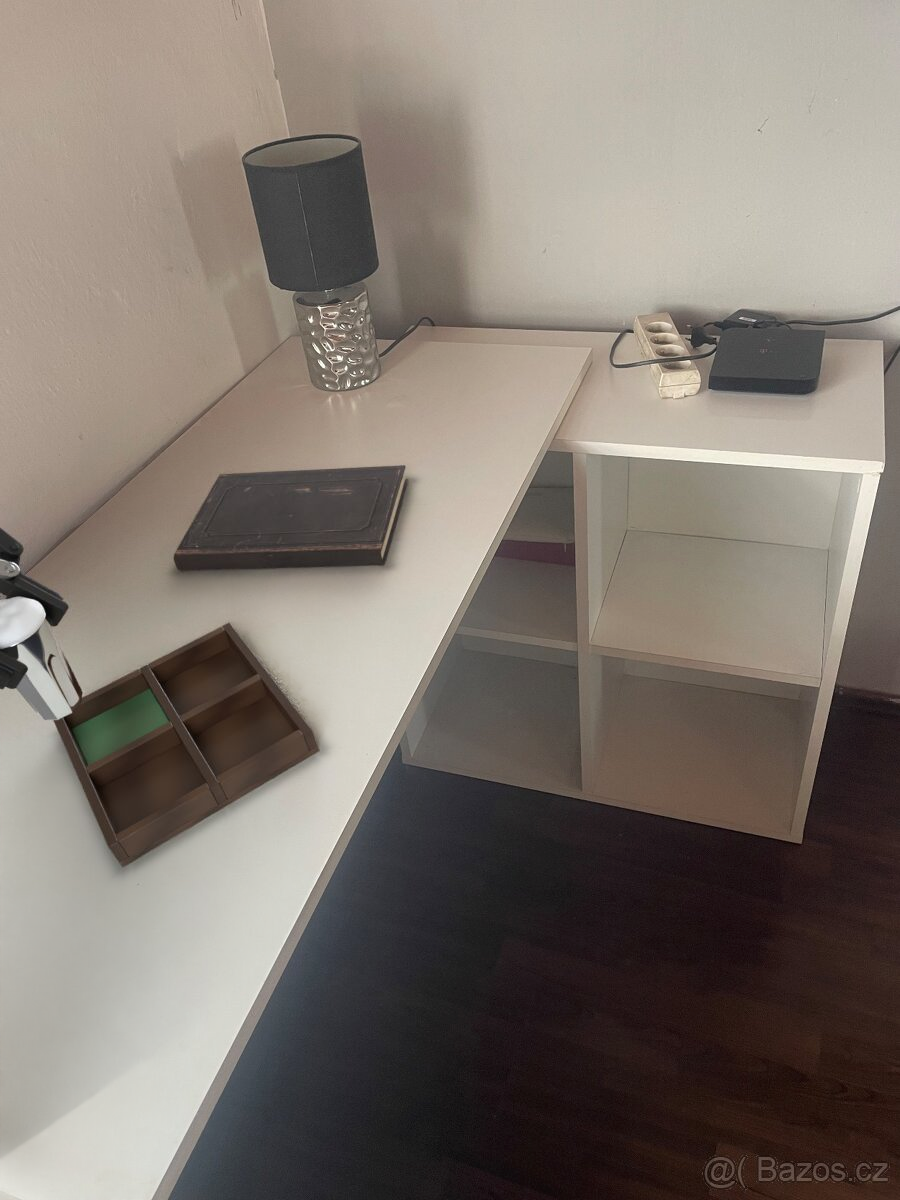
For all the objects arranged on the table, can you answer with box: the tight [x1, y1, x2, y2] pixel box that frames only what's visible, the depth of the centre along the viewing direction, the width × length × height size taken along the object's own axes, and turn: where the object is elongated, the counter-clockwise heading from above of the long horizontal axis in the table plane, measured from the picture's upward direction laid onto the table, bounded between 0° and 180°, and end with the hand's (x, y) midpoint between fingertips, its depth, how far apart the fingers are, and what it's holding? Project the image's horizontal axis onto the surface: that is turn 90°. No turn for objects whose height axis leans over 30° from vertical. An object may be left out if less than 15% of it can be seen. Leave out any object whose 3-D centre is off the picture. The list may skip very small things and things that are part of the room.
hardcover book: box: [173, 464, 409, 572], centre depth 97 cm, size 16×23×2 cm
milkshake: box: [0, 597, 84, 721], centre depth 59 cm, size 4×5×10 cm
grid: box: [52, 621, 320, 868], centre depth 74 cm, size 17×17×3 cm
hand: (42, 645), depth 58 cm, fingers closed on milkshake, 5 cm apart
